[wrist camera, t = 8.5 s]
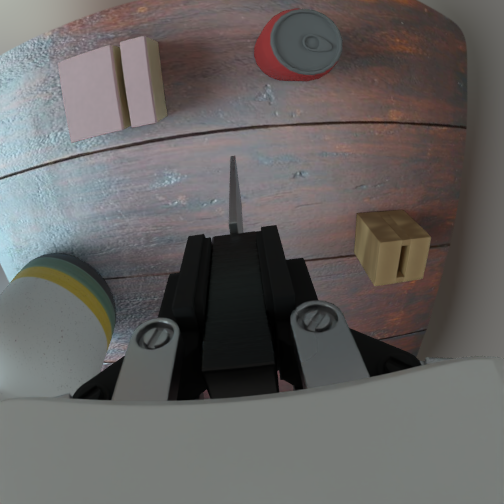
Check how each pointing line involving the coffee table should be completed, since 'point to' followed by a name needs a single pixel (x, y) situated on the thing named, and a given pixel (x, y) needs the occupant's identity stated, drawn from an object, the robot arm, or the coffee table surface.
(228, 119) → the coffee table surface
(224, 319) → the knife
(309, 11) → the beer can
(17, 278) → the vase
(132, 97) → the cake slice
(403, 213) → the knife block
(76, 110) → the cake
